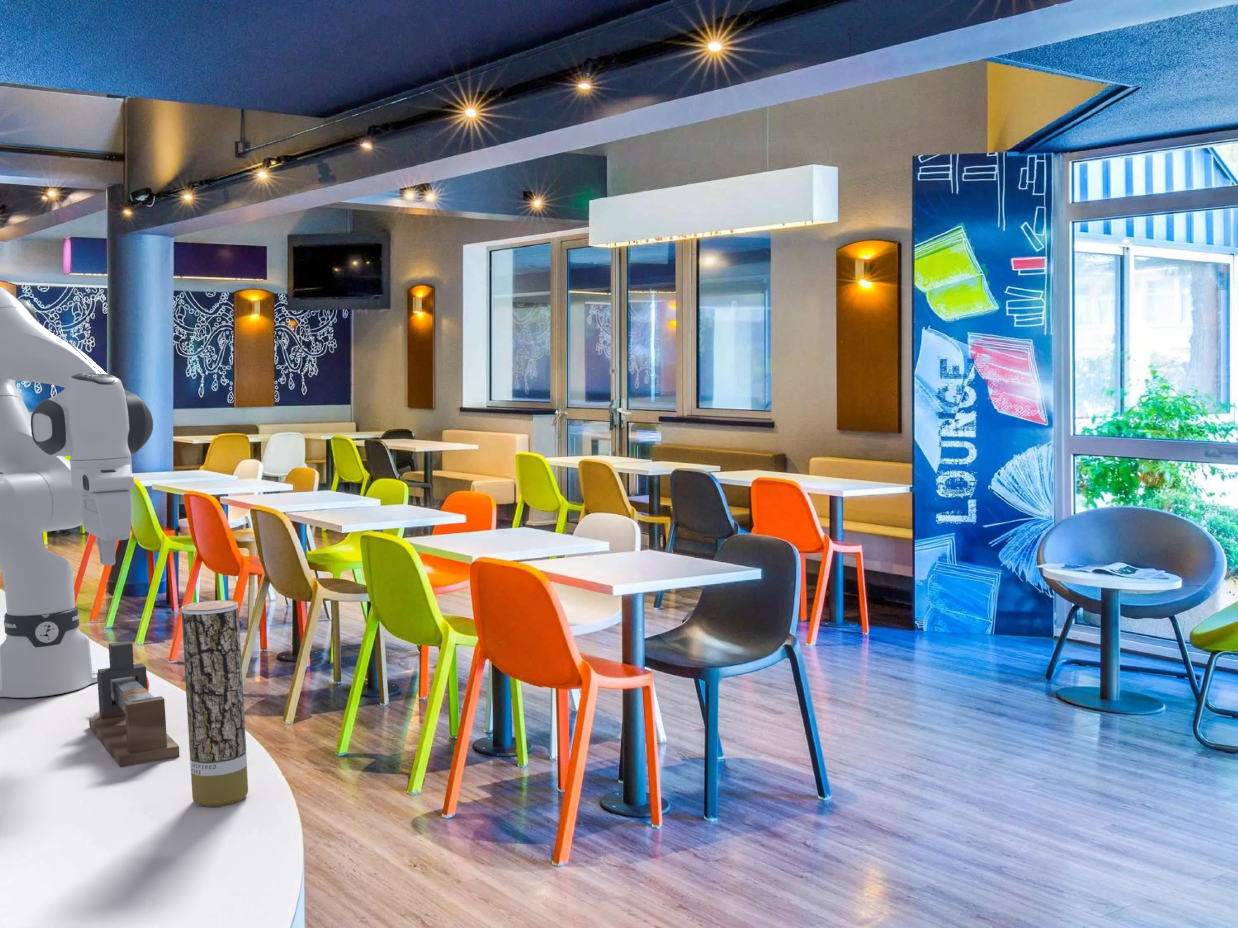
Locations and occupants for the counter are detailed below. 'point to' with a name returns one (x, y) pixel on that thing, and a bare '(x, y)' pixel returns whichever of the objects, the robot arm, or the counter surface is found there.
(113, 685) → the grey metal bar
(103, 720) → the base
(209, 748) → the paper tube
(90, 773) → the counter surface
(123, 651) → the grey clamp
